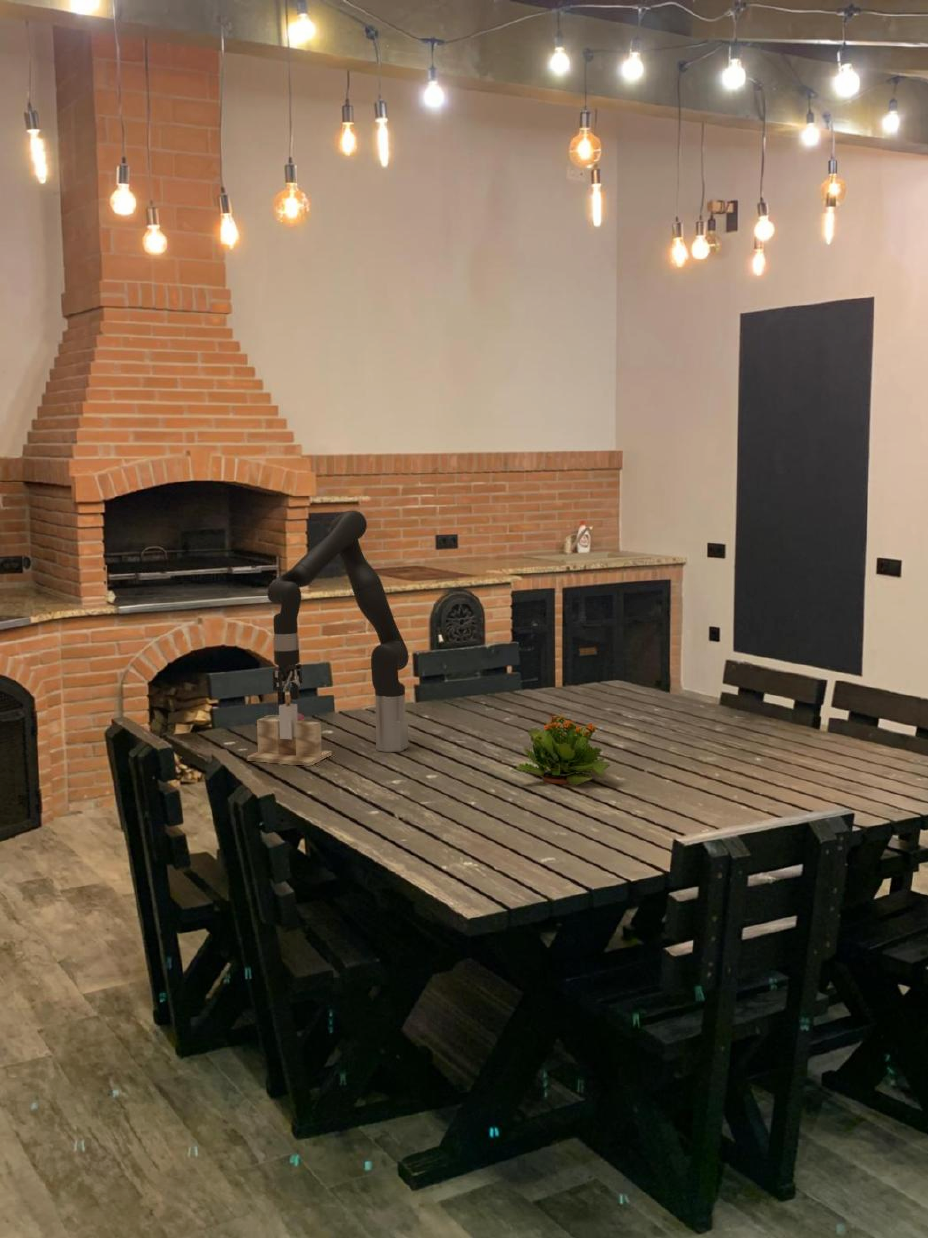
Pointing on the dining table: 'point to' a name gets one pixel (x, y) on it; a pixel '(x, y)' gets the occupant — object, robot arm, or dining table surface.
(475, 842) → the dining table surface
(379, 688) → the robot arm
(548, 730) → the potted flower
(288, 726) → the grey square bottle
